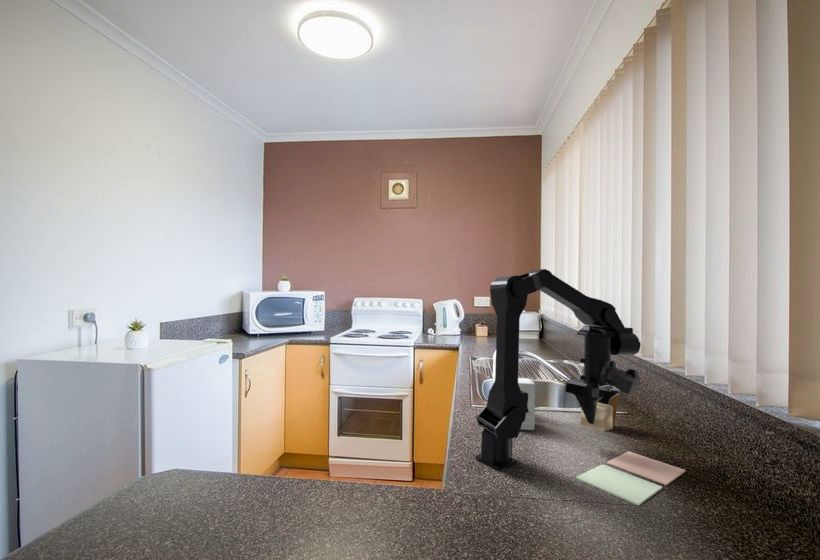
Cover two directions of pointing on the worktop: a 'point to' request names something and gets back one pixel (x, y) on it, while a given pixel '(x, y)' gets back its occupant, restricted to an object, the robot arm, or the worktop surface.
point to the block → (600, 418)
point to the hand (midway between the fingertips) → (596, 421)
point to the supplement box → (529, 388)
